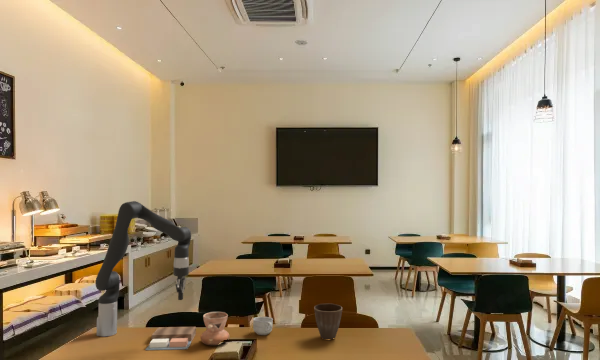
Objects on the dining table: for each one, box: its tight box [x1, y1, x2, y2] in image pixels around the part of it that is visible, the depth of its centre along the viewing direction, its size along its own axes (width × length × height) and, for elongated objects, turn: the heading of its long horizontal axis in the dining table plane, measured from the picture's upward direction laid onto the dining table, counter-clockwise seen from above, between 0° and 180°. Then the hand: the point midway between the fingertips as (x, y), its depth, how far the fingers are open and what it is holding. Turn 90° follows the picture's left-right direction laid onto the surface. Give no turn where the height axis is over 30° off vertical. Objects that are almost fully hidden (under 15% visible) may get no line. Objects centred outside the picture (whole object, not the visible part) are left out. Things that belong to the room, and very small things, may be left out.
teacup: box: [252, 316, 274, 336], centre depth 220 cm, size 14×11×8 cm
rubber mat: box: [145, 341, 192, 351], centre depth 202 cm, size 20×10×1 cm, turn 94°
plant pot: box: [313, 303, 343, 340], centre depth 214 cm, size 15×15×16 cm
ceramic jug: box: [200, 311, 230, 346], centre depth 207 cm, size 18×14×14 cm
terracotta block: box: [169, 338, 188, 347], centre depth 202 cm, size 8×5×2 cm, turn 94°
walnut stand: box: [151, 326, 197, 343], centre depth 213 cm, size 20×12×4 cm, turn 94°
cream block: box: [149, 338, 169, 348], centre depth 201 cm, size 8×5×2 cm, turn 94°
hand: (180, 299), depth 209 cm, fingers closed
